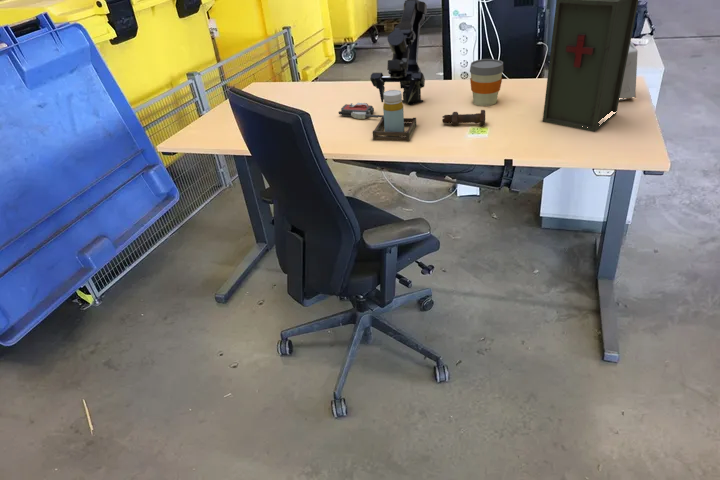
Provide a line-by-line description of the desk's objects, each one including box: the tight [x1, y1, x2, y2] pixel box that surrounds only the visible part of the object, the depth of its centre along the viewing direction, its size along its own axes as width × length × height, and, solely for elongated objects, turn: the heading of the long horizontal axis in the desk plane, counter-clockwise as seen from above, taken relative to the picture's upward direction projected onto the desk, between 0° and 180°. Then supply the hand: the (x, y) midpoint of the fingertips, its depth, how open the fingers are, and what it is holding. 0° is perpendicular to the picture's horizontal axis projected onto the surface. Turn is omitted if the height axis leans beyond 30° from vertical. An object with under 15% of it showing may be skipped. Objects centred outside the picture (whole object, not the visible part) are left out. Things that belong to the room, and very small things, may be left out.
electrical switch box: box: [619, 40, 639, 101], centre depth 194 cm, size 15×15×20 cm
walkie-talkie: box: [337, 102, 384, 120], centre depth 202 cm, size 9×4×20 cm
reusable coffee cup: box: [469, 58, 504, 107], centre depth 200 cm, size 13×13×15 cm
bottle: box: [382, 89, 405, 132], centre depth 182 cm, size 7×7×15 cm
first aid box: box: [542, 0, 640, 133], centre depth 172 cm, size 18×18×40 cm
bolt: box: [441, 109, 486, 127], centre depth 186 cm, size 6×5×15 cm
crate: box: [372, 117, 417, 142], centre depth 186 cm, size 14×13×3 cm
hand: (394, 101), depth 182 cm, fingers open, 9 cm apart
